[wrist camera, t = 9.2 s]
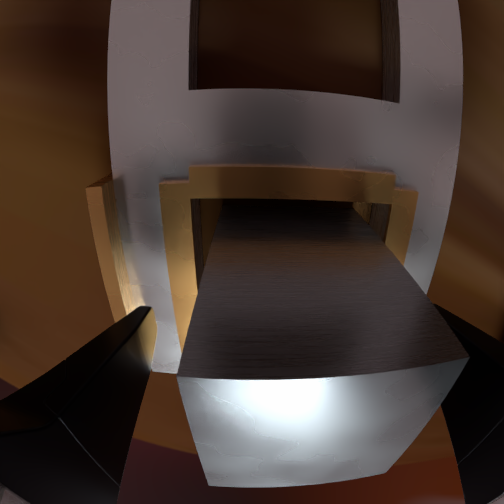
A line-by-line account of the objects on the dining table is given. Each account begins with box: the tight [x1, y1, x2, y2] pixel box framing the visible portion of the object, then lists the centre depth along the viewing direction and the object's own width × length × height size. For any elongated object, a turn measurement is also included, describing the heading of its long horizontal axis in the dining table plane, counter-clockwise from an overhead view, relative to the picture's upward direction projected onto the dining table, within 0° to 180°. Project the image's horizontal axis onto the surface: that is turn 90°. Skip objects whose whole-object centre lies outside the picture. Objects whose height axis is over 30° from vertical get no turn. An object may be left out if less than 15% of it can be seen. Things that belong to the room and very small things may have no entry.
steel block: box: [176, 205, 470, 487], centre depth 9 cm, size 5×5×8 cm
